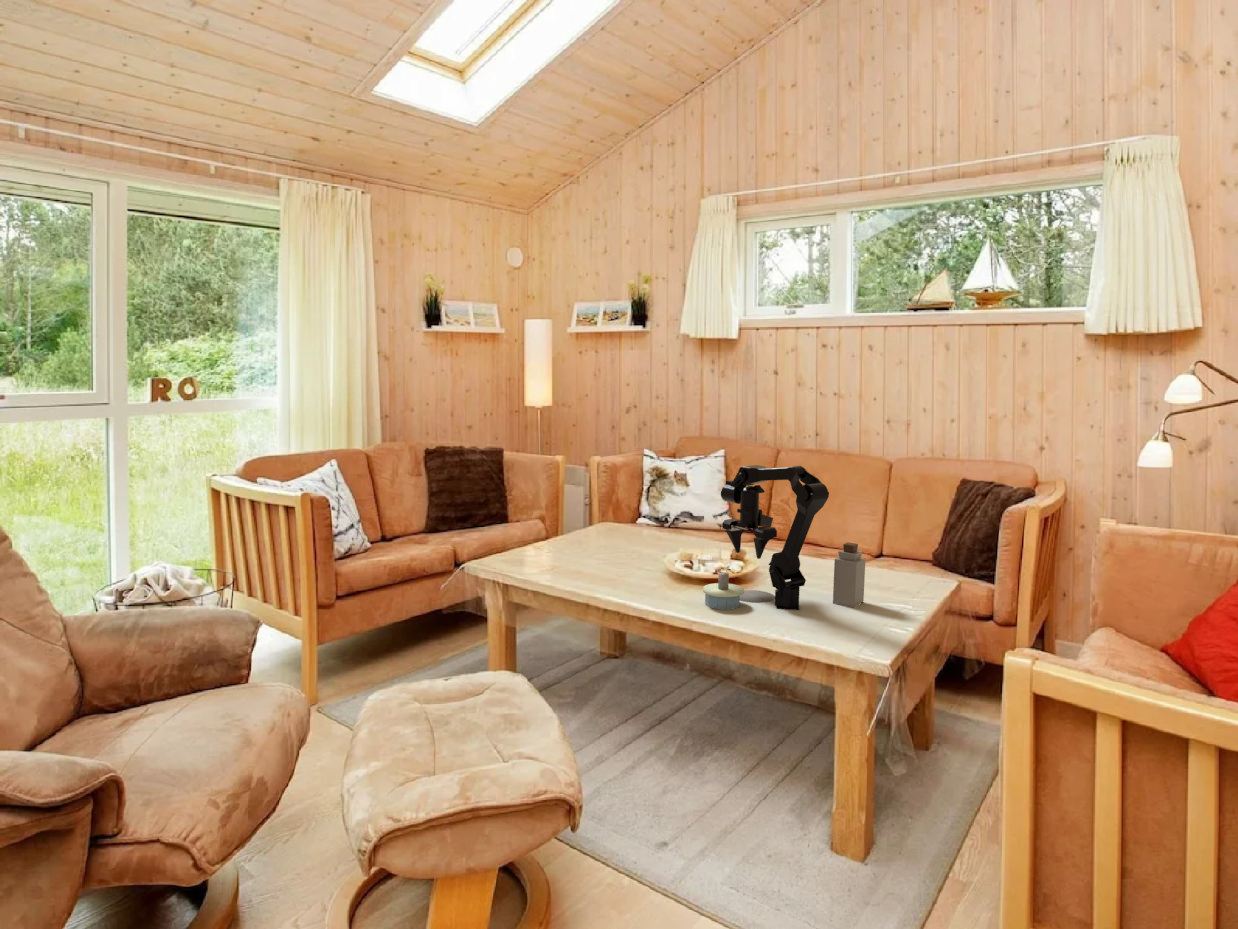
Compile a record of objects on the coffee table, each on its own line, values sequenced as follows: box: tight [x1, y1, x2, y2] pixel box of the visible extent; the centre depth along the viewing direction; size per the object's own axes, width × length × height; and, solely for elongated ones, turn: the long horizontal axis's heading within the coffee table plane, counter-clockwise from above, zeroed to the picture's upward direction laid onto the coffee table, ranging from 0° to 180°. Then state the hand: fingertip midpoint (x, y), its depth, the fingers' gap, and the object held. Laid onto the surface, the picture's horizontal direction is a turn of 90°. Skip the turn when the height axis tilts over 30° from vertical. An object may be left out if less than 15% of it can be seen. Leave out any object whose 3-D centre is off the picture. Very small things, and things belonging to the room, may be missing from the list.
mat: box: [740, 589, 775, 604], centre depth 236 cm, size 13×13×1 cm
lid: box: [702, 572, 745, 597], centre depth 227 cm, size 12×12×5 cm
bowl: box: [704, 593, 741, 610], centre depth 228 cm, size 10×10×4 cm
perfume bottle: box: [832, 542, 866, 608], centre depth 230 cm, size 7×7×18 cm
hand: (748, 555), depth 239 cm, fingers open, 9 cm apart
